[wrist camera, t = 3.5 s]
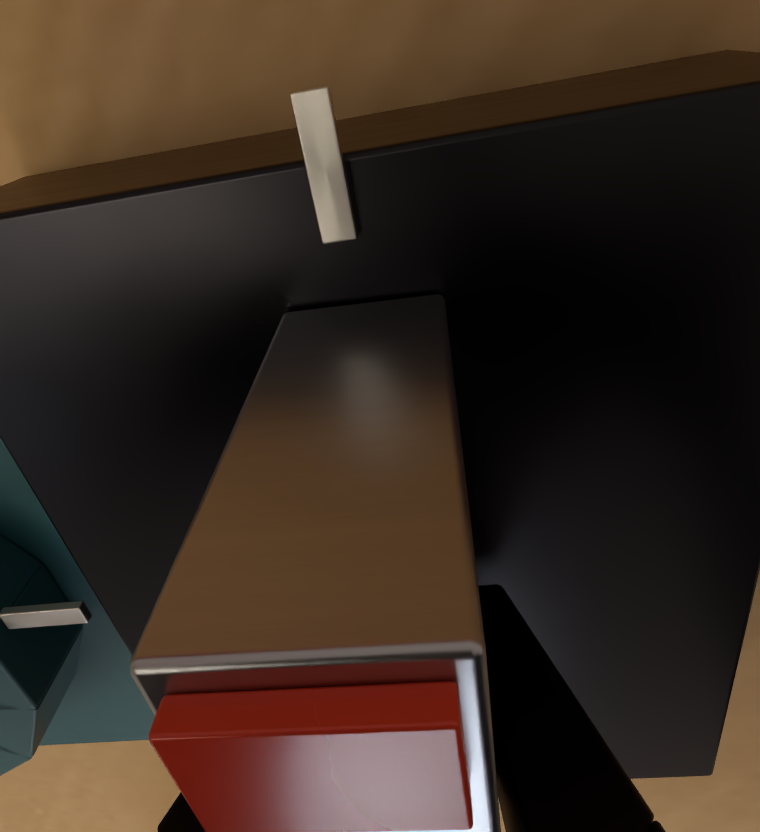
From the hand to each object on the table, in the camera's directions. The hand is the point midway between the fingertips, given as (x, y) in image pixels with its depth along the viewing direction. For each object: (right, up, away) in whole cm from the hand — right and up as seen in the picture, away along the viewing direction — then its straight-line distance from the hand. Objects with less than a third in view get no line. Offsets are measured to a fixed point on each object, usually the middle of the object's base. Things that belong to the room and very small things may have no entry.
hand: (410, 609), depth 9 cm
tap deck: (0, +2, +3) cm, 4 cm away
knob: (0, 0, 0) cm, 0 cm away
